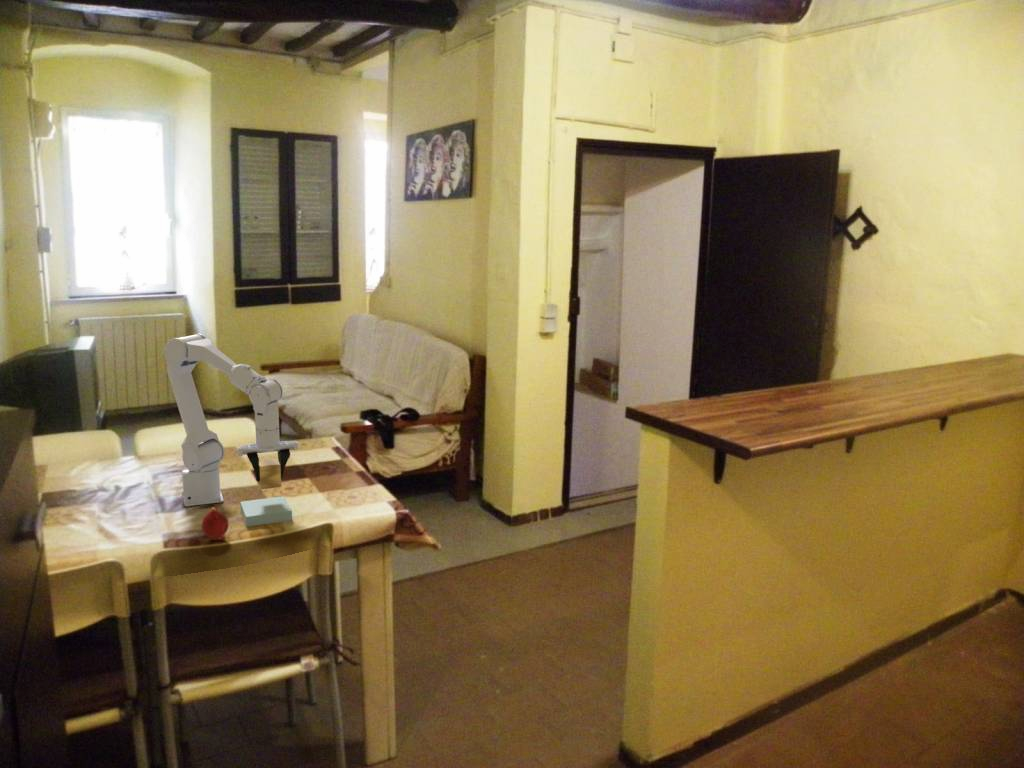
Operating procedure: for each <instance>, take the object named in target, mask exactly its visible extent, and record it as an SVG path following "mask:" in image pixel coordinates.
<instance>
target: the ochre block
mask: <svg viewBox="0 0 1024 768" xmlns="http://www.w3.org/2000/svg"><path fill="white" fill-rule="evenodd" d="M259 474H260V481H259V482H257V484H258V486H259V488H260V490H267V489H275V488H282V479H281V468H280V463H279V461H278V458H274V459H268V460H267V459H266V460H259Z"/></svg>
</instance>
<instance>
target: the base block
mask: <svg viewBox="0 0 1024 768" xmlns="http://www.w3.org/2000/svg"><path fill="white" fill-rule="evenodd" d="M239 503H240V512H242V513H241V515H243V516H242V519H243V521H244V524H245V526H247V527H255V526H258V525H259V526H262V525H266V524H268V525H269V524H275V523H282V522H289V521H293V510H292V508H291V506H290V505H289V502H288V500H287V499H286V497H285V496H284V495H283V496H276V497H275V496H274V497H268V498H267V497H266V498H258V499H251V500H244V501H240V502H239Z"/></svg>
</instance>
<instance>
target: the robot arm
mask: <svg viewBox="0 0 1024 768" xmlns="http://www.w3.org/2000/svg"><path fill="white" fill-rule="evenodd" d="M163 347H164V348H163V349H162V351H163V355H164V358H165V360H166V373H167V375H168V376H167V377H168V380H169V382H170V385H171V389H172V392H173V395H174V399H175V402H176V405H177V408H178V412H179V414H180V417H181V421H182V424H183V427H184V430H185V434H186V437H184V440H183V442H182V443H181V445H180V446H181V449H182V458H181V459H182V462H183V465H184V466H185V467H186V469H182V470H181V481H182V490H181V497H182V498H183V503H184V506H185V507H192V506H200V505H209V504H217V503H223V502H224V498H223V494H222V491H221V483H220V482H221V481H220V478H221V477H220V466H221V461H222V460H223V459H224V457H225V455H226V454H225V452H226V451H225V448H224V445H223V443H222V442H221V441H220V440H219V437H218V434H217V433H215V431H212V430H211V429H209V427H208V424H207V419H206V416H205V413H204V410H203V408H202V407H203V406H202V404H201V401H200V398H199V397H200V396H199V395H198V391H197V387H196V384H195V381H194V377H193V375H192V371H193V370H194V369H195V367H196V365H198V363H199V362H201V361H203V362H206V363H207V364H208V365H210V366H212V367H214V368H215V369H216V370H218V371H221V372H222V373H223V374H226V375H227V376H228V379H229V380H228V381H229V382H230V384H232V385H233V386H235V387H236V388H237V389H239V390H241V391H242V392H244V393H245V394H246V395H248V399H249V400H250V402H251V404H252V407H253V408H252V409H253V411H254V422H255V425H254V426H255V443H251V444H250V443H249V444H247V445H241V446H240V445H239V446H238V445H237V455H238V456H239V457H241V456H245V455H246V456H247V459H248V461H249V462H250V464H251V466H252V469H253V472H254V475H255V481H256V482H257V483H258V482H259V481H260V474H259V461H260V457H259V454H262V453H274V452H277V460H278V461H279V463H280V468H281V480H282V479H283V478H284V472H285V470H286V469H285V468H286V466H287V463H288V461H289V458H290V456H291V451H298V450H299V444H298V441H297V440H291V441H290V440H289V441H288V440H287V441H284V440H283V441H282V440H280V419H279V418H280V416H279V413H280V412H279V400H280V399H282V397H283V392H284V391H283V387H282V385H281V384H280V382H279V381H277V380H276V379H275V378H269V379H268V378H266V377H265V376H264V375H261V374H259V373H258V372H256V371H255V370H253V368H252V366H251V365H250V364H245V363H240V364H237V363H236V362H235V361H233V360H232V359H231V358H230V357H228V356H227V355H226V354H225V353H224V352H222V351H220V350H219V349H218V348H217V347H216V346H214V345H213V342H212V340H211V339H210V338H207V337H206V336H205V335H203V333H194V334H192V335H188V336H186V335H185V336H181V337H172V338H171V339H168V340H167V342H166V344H165V346H163Z"/></svg>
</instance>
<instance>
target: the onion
mask: <svg viewBox="0 0 1024 768" xmlns="http://www.w3.org/2000/svg"><path fill="white" fill-rule="evenodd" d="M210 508H211V509H210V511H209V512H208V513H206V515H205V516H204V517H203V519H202V522H201V529H202V532H203V534H205V535H206V536H207V537H209V538H211V539H212V540H213V541H216V540H218V539H220V538H221V537H222V536H224V534H226V532H227V531H228V530H229V520H228V518H227V517H226V515H224V513H223V512H221V511H220V510H218V509H216V508H215V507H213V506H212V507H210Z"/></svg>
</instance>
